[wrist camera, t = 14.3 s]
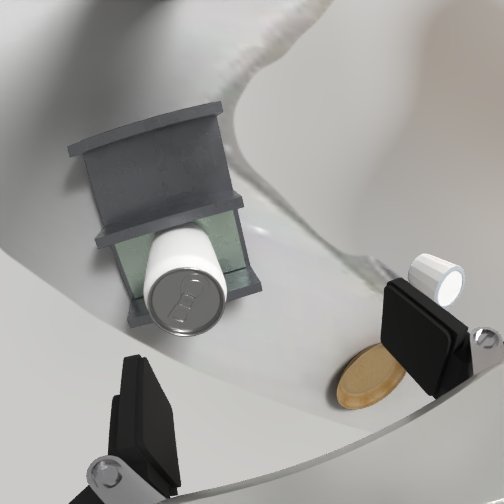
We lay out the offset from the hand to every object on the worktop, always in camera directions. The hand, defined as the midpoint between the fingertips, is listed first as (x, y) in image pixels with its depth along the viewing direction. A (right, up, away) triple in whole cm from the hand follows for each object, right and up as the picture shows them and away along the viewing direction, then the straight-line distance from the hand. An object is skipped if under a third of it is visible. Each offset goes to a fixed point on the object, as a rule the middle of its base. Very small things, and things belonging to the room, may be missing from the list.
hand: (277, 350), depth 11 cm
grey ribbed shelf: (-10, +8, +21) cm, 25 cm away
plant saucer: (+19, -16, +38) cm, 45 cm away
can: (-8, +4, +22) cm, 24 cm away
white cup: (+25, +1, +33) cm, 42 cm away
